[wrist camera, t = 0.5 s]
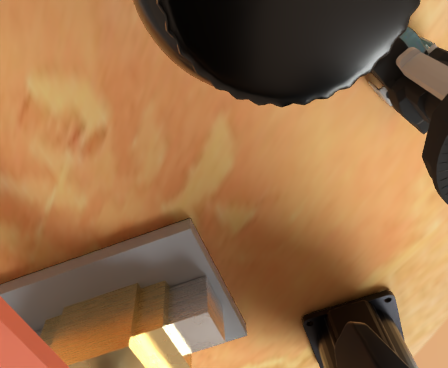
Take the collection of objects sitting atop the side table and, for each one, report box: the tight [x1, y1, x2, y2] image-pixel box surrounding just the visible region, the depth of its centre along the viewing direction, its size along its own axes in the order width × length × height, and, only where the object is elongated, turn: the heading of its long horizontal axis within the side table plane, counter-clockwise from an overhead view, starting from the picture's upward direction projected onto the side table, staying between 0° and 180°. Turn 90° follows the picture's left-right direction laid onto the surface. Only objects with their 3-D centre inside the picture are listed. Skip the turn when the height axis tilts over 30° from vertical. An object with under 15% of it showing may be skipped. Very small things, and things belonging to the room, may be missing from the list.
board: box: [0, 218, 247, 342], centre depth 27 cm, size 10×14×1 cm
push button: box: [368, 27, 448, 204], centre depth 16 cm, size 7×5×10 cm
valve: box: [36, 276, 226, 368], centre depth 24 cm, size 5×13×6 cm, turn 110°
